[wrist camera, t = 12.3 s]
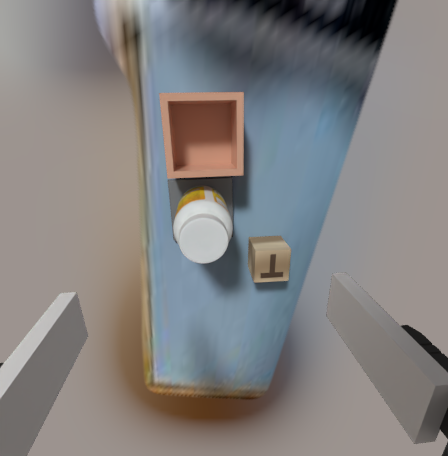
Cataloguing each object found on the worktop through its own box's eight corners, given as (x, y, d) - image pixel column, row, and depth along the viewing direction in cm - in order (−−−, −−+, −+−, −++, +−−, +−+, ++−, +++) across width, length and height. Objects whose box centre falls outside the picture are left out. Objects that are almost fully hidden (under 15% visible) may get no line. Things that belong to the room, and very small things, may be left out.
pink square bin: (165, 99, 27) (159, 93, 22) (235, 98, 27) (243, 91, 23) (172, 170, 29) (167, 178, 24) (235, 167, 30) (243, 175, 25)
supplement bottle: (230, 191, 30) (246, 218, 21) (218, 234, 32) (228, 276, 23) (183, 179, 29) (178, 202, 20) (173, 224, 31) (164, 264, 22)
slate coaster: (168, 179, 29) (167, 180, 29) (231, 177, 30) (232, 178, 29) (174, 238, 32) (173, 240, 31) (232, 234, 32) (232, 236, 32)
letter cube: (248, 236, 33) (255, 251, 29) (280, 235, 33) (291, 249, 29) (247, 266, 34) (254, 283, 31) (278, 264, 35) (288, 281, 31)
